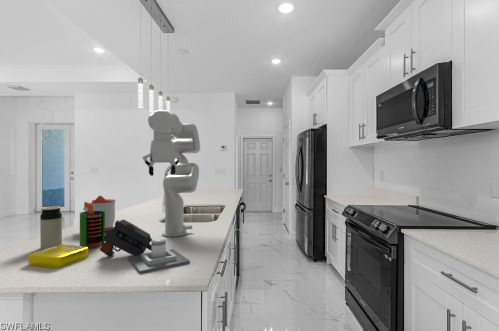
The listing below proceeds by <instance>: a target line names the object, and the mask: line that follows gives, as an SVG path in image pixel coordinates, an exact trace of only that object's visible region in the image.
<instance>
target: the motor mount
mask: <svg viewBox="0 0 499 331" xmlns="http://www.w3.org/2000/svg"><path fill="white" fill-rule="evenodd" d="M151 255H152V251H150V252H144V253H143V254H141V255H137V256H133V255H131V256H128V261H129V262H130V263H131V265H132V266H133V267H134V268H135V269H136V271H137V272H138V273H139V274H145V273H151V272H156V271H159V270H164V269H169V268H175V267H178V266H182V265H184V266H185V265H188V264H191V263H190V262H191V261H190V259H188V258H187V257H186V256H185V255H183V254H181V253H180V252H178V251H176V249H166V257H162V258H157V259H151Z"/></svg>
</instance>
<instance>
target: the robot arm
mask: <svg viewBox="0 0 499 331" xmlns="http://www.w3.org/2000/svg"><path fill="white" fill-rule="evenodd" d="M147 119H148V120H147V123H148V126H149V128H150V129H151V130H152V131H153V140H151V142H150V147H149V148H150V150H149V153H148V154H146V155H144V156H142V160H143V161H144V164H146V165H147V167H148V174H149V176H154V164H155V163H159V164H161V163H169V164H170V165H171V166H170V170H169V175H166V176H165V177H164V178H163V180H162V186H163V191H164V225H165V226H164V231H162V232H161V235H162V236H163V237H166V238H167V237H168V238H172V237H173V238H175V237H181V236H185V235H187V230H191V229H193V225H186V224H185V223H184V222H185V221H184V216H185V215H184V214H185V212H184V199H183V197H182V196H181V195H180V194H183V193H184V194H189V193H190V194H192V193H195V192H196V190H197V186H198V182H199V176H200V175H199V174H200V167H199V165H198V164H197V163H195V162H189V160H188V158H187V157H186V156H185V155H184V154H198V153H199V152H201V151H200V150H201V142H200V136H199V130H198V128H197V125H195V123H182V122H181V121H180V118H179V116H178V115H177V114H176V113H172V112H170V111H168V110H163V109H158V110H157V109H156V110H155V111H154V112H153V113H150V114H149V115H148V118H147ZM174 138H176V139H174ZM173 139H174V140H173ZM172 140H173V141H172ZM148 158H149V160H148Z"/></svg>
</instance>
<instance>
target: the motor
mask: <svg viewBox="0 0 499 331" xmlns="http://www.w3.org/2000/svg"><path fill="white" fill-rule="evenodd" d="M87 202H88V201H87ZM83 206H84V207H87V208H88V211H85V210H84V211H81V212H80V213H79V246H85V247H88V250H91V249H93V250H94V249H98V248H101V247H102V246H103V244H104V243H105V241H104V236H105V234H106V231H105V211H100V210H95V211H93V205H92V201H91V202H90V201H89V202H88V203H84V204H83ZM84 207H83V208H84Z"/></svg>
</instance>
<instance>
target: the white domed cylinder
mask: <svg viewBox="0 0 499 331" xmlns="http://www.w3.org/2000/svg"><path fill="white" fill-rule="evenodd" d="M150 245H152V251H151V252H152V255H151V259H157V258H162V257H166V246H167V240H166V238H155V239H152V241H151V242H150Z"/></svg>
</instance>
